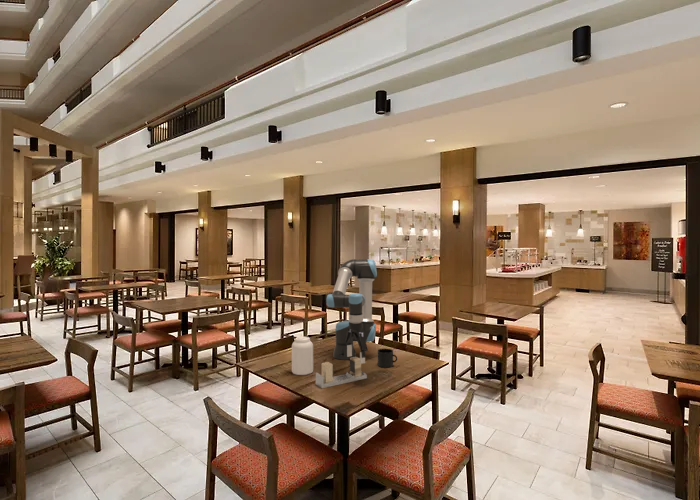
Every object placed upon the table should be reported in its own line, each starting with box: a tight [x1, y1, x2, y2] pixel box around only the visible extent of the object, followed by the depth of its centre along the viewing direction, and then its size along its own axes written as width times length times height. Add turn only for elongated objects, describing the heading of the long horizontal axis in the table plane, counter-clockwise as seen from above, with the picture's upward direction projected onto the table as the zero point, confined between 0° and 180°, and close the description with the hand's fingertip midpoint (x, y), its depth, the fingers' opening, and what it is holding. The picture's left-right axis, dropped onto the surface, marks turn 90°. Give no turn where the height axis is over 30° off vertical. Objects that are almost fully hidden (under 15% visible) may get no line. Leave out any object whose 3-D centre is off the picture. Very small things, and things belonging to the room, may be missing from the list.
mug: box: [377, 348, 398, 369], centre depth 228 cm, size 9×12×9 cm
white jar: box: [291, 336, 314, 376], centre depth 217 cm, size 12×12×20 cm
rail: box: [315, 361, 368, 389], centre depth 202 cm, size 7×28×11 cm, turn 121°
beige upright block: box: [349, 356, 362, 376], centre depth 207 cm, size 5×5×9 cm
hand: (355, 359), depth 207 cm, fingers open, 13 cm apart
